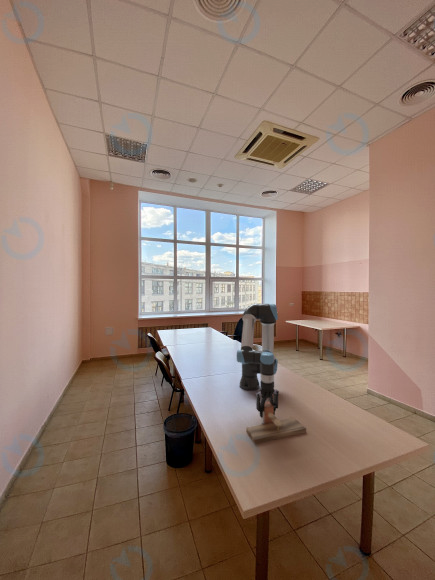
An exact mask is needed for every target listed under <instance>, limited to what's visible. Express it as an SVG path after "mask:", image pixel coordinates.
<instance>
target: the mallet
mask: <svg viewBox="0 0 435 580" xmlns="http://www.w3.org/2000/svg"><path fill="white" fill-rule="evenodd" d="M263 411H264V424H267V423H272V422H274V423H275V425H276V426H277V430H279V426H281V422H280V421H281V420H279V418H278V417H276V416H275V415H274V406H273V405H272V404H271V403H270V401H265V405H264V410H263Z"/></svg>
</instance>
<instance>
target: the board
mask: <svg viewBox="0 0 435 580" xmlns="http://www.w3.org/2000/svg"><path fill="white" fill-rule="evenodd" d="M279 421H280V422H281V426H279V430H277V426H276V425H275V423H274V422H272V423H267V424H263V423H262V424H257V425H253V426H249V427H246V431H245V432H246V433H247V435H248V436H249V437H250V439H251V441H252V442H253V443H254V444H260V443H264V442H268V441H273V440H277V439H281V438H287V437H290V436H294V435H295V436H296V435H299V434H303V433H307V427H306V426H304V425H303V424H302V423H301V422H300V421H299V420H298V419H297V418H296V417H293V418H288V419H284V420H279Z"/></svg>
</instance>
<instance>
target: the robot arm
mask: <svg viewBox="0 0 435 580" xmlns="http://www.w3.org/2000/svg"><path fill="white" fill-rule="evenodd" d="M278 315H279V314H278V308H277V305H276V304H275V303H274V304H273V303H252V304H250V305H249V306H247V307H246V309H245V310H244V311H243V314H242V317H241V318H242V321H243V322H242V323H243V324H242V333H241V344H240V349H238V350H236V362H237V363H239V364H240V363H241V378H240V380H239V387H240V388H241V389H242V390H245V391H256V390H258V389H260V390H259V391H258V392H257V391H256V392H255V396H256V402H255V403H256V407H255V409H256V411H258V412H259V417H260V422H261V423H262V424H264V411H263V410H264V405H265V402H267V399H269V402H270V403H271V404H272V405H273V406H274V415H275V414H276V411H277V409H278V408H279V394H280V391H279V390H278V389H275V375H276V374H277V371H278V363H279V362H278V358H276V355H275V353H274V351H275V349H274V346H275V344H274V343H275V338H274V337H275V334H274V333H275V324H277V321H278V320H279V316H278ZM257 320H259V323H260V324H261V350H254V336H255V335H254V333H255V332H254V331H255V323H256V321H257ZM258 374H259V375H260V381H259V378H258Z"/></svg>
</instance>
